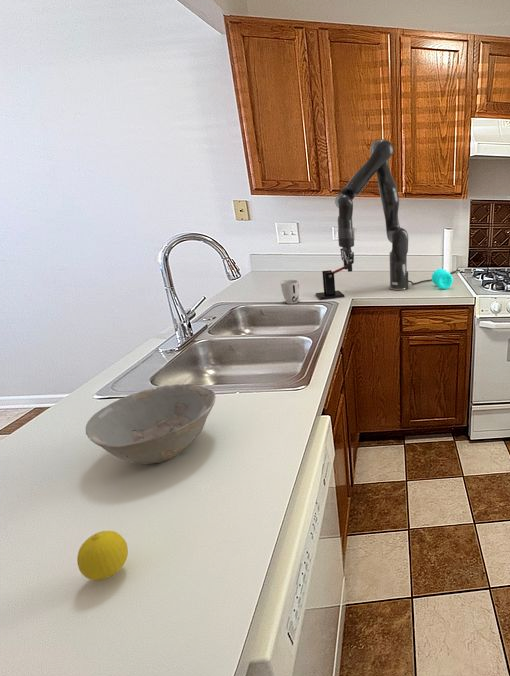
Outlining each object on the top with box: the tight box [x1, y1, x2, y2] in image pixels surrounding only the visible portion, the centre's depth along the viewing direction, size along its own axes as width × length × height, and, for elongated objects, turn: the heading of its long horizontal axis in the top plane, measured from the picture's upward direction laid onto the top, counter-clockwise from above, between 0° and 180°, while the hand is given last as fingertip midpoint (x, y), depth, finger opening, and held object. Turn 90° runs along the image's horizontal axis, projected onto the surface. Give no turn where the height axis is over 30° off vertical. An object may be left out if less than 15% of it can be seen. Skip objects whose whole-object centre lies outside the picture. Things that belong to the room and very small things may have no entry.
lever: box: [332, 264, 347, 275], centre depth 200 cm, size 13×5×2 cm, turn 122°
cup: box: [280, 279, 300, 305], centre depth 189 cm, size 8×8×10 cm
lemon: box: [76, 530, 129, 581], centre depth 59 cm, size 6×6×8 cm
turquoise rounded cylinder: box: [431, 268, 454, 290], centre depth 223 cm, size 10×10×10 cm
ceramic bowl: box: [85, 383, 216, 465], centre depth 86 cm, size 22×23×10 cm
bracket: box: [315, 269, 345, 301], centre depth 199 cm, size 12×9×13 cm
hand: (348, 270), depth 202 cm, fingers closed on lever, 5 cm apart
